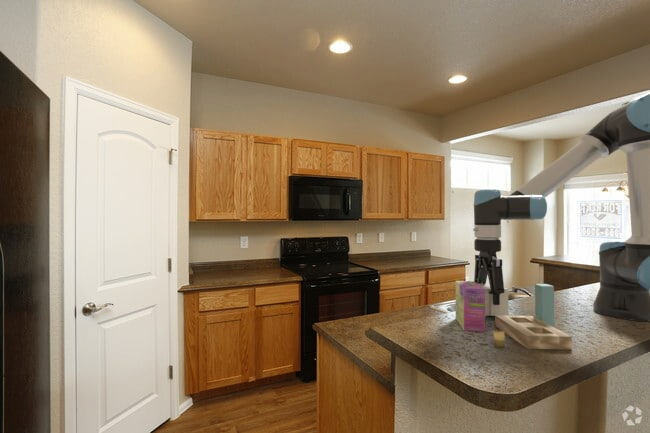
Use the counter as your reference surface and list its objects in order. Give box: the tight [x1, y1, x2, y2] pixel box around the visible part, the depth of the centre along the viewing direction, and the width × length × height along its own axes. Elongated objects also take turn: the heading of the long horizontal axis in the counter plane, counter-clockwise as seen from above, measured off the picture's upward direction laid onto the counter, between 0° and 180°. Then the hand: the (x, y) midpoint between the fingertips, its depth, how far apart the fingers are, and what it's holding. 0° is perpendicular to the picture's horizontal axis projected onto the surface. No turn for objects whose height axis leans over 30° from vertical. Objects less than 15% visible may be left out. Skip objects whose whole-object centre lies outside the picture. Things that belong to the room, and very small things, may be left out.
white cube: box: [478, 283, 510, 316], centre depth 99 cm, size 8×8×8 cm
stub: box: [493, 329, 506, 349], centre depth 76 cm, size 2×2×4 cm
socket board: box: [494, 315, 573, 350], centre depth 82 cm, size 10×16×3 cm, turn 176°
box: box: [455, 280, 486, 333], centre depth 92 cm, size 10×6×12 cm, turn 169°
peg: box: [534, 283, 555, 328], centre depth 89 cm, size 3×3×12 cm
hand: (488, 310), depth 99 cm, fingers closed on white cube, 8 cm apart
